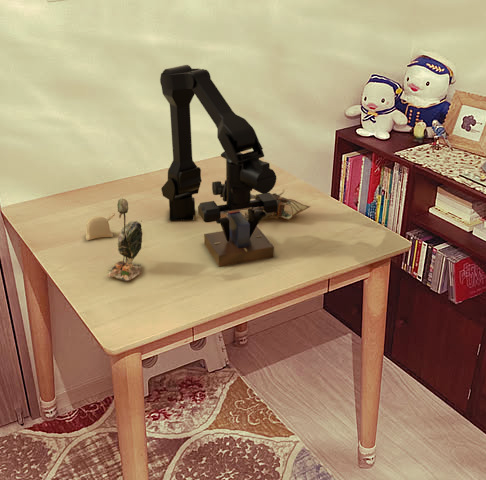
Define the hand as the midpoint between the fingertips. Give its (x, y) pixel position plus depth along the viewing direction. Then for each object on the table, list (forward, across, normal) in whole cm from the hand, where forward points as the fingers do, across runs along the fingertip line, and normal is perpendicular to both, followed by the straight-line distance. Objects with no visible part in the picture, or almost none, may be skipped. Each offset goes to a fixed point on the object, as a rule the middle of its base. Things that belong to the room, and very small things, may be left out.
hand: (238, 239), depth 176 cm
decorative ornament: (+4, +31, -20) cm, 37 cm away
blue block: (0, 0, 0) cm, 0 cm away
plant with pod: (+4, +28, +1) cm, 28 cm away
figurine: (+4, -16, -15) cm, 23 cm away
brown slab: (+3, 0, 0) cm, 3 cm away
